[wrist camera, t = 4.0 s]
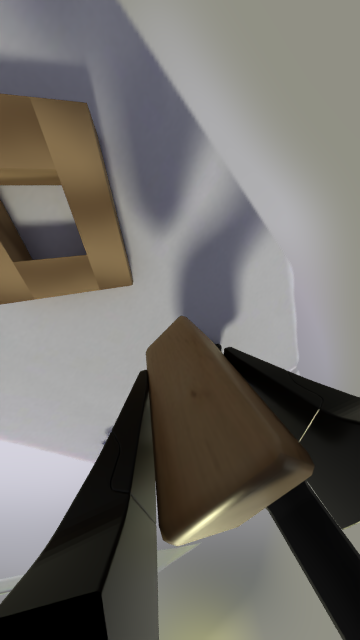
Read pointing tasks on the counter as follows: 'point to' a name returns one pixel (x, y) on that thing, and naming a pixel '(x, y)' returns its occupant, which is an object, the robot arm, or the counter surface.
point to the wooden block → (212, 439)
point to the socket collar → (80, 190)
